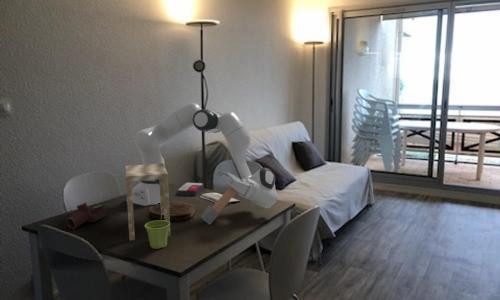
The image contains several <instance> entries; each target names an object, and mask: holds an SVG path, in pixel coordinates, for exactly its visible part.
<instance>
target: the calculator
mask: <svg viewBox="0 0 500 300" xmlns="http://www.w3.org/2000/svg"><path fill="white" fill-rule="evenodd" d="M204 190H205V187H204V183H200V182H186V183H184V184H183V185H181V187H179V188H178V189H177V190H176V195H177V196H183V197H185V196H187V197H197V196H198V195H199V194H200V193H201V192H204Z"/></svg>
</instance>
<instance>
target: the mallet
mask: <svg viewBox="0 0 500 300" xmlns="http://www.w3.org/2000/svg"><path fill="white" fill-rule="evenodd" d="M236 194H238V193H237V191H236V190H234V189H233V188H232V187H231V186H230V185H229V187H228V188H227V190H226V191H225V192H224V193H223V194H222V197H221V198H220V199H219V200H218V201H217V202H216V203H215V202H214V204H213V206H211V205H208V206H207V207H206V208H205V210H204V211H203V212H202V213H201V214H200V217H201V219H202V220H203V221H204V222H205V223H206V224H208V225H209V226H210V225H211V224H212V223H214V220H216V219H217V217H219V213H220V212H221V211H222V210H223V209H224V208H225V207H226V206H227V205H226V204H227V203H230V202H229V201H230V199H231V198H234V196H235V195H236Z"/></svg>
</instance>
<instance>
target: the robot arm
mask: <svg viewBox="0 0 500 300" xmlns="http://www.w3.org/2000/svg"><path fill="white" fill-rule="evenodd" d="M193 126H194V127H195V129H197V130H198V131H200V132H205V133H216V134H217V133H219V132H221V134H222V135H223V138H224V139H225V141H226V142H227V145H228V148H229V153H230V154H229V155H230V159H231V161H232V163H233V166H234V168H235V170H236V173H237V175H238V176H236V175H235V174H232V173H231V172H228V171H221V170H216V172H215V173H216V175H218V176H220V179H221V180H223V181H224V182H226V183H227V184H228V185H229V187H230V186H231V187H232V188H233V189H234V190H236V191H237V193H236V194H237V195H238V196H240V197H242V198H244V199H246V200H248V201H251V202H253V203H254V204H256V205H257V206H260V207H263V208H264V209H265V208H266V209H270V208H272V207H274V205H276V204H277V202H278V200H279V194H278V192H277V191H276V184H275V183H276V175H275V173H274V172H273V171H272V169H269V167H268V168H267V167H261V168H260V169H258V170H257V171H256V172H254V173H253V174H252V173H251V170H250V168H249V166H248V164H247V161H246V155H247V152H248V149H249V147H250V144H251V136H250V133H249V131H248V130H247V128H246V127H245V125H244V123H243V122H242V120H241V119H240V118H239V117H238V116H237V115H236V113H235V112H232V111H227V112H224V113H223V114H222V113H220V112H218V111H215V110H213V109H208V108H207V109H206V108H202V107H201V106H200V105H199V104H198V103H196V102H190V103H187V104H185V105H183V106H181V107H179V108H177V109H175V110H173V112H171V113H170V114H167V115H166V116H165V117H163V118H162V119H161V120H160V121H158V123H156V124H155V125H153V126H149V127H147V128H143V129H141V130H139V131H138V132H137V133H136V134H135V135H134V139H133V141H134V142H133V143H134V145H135V147H136V148H137V149H138V152H139V155H140V156H141V161H142V165H145V164H161V163H163V164H164V166H165V167H166V165H165V158H164V157H163V156H162V153H161V149H160V148H161V147H162V146H164V145H165V144H167V143H168V142H171V140H173V139H175V138H176V137H177V136H179V135H181V134H182V133H184V132H185V131H187V130H188V129H190V128H191V127H193ZM132 199H133V204H136V205H140V206H150V205H153V206H154V205H159V204H158V203H160V183H159V179H155V180H142V181H139V183H137V185H135V186H134V187H132ZM126 202H127V199H126Z"/></svg>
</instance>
